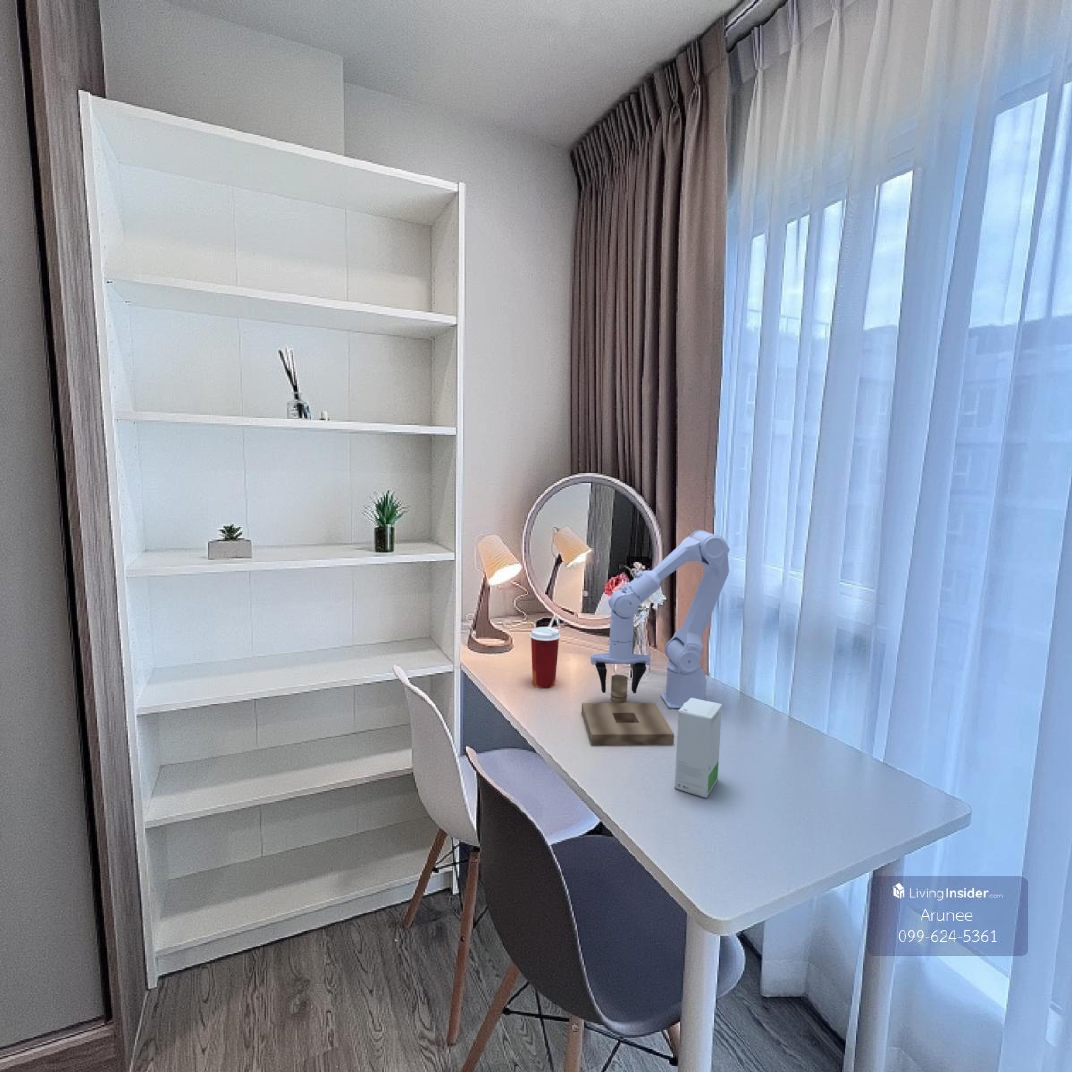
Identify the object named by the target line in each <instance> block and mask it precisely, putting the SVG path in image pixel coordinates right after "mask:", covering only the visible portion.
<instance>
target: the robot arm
mask: <svg viewBox="0 0 1072 1072" xmlns="http://www.w3.org/2000/svg"><path fill="white" fill-rule="evenodd" d="M729 552H730V547H729V545H728V543H727V542H726V540H725V539H724V537H722V536H721V535H719V534H718V535H717V534H713V533H710V532H708V531H706V530H704V529H698V530H694V531H693V532H691V534H690V535H689V536H686V537H685V538H684V539H683V540H681V543H679V544H678V546H677V547H676V548H675V549H673V550H672V551H671V552H670V553H669V554H668V555H667V556H666V557H665V558H664V559H662V560H661V561H660V562H659V563H658V564H657V565H655V567H654V568H653V569H652V570H648V569H647V570H643V571H638V572H637V573H636V574H635V578H634V579H632V580H631V581H630V582H629V583H628V584H626V585H625V584H624V585H622V586H621V589H620V590H619V589H617V590H616V591H614V592H613V593H611V595H610V598H609V599H608V601H607V602H608V603H607V604H608V606H609V608H610V609H611V613H610V623H609V625H610V626H609V644H608V645H609V648H608V652H606V653H599V654H591V655H590V664H591V666H592V665H593V666H595V668H596V671H597V673H598V678H599V680H600V685H601V686H600V687H601V689H600V690H601V692H602V693H603V694H606V693H607V685H606V684H607V683H606V682H607V672H608V669H607V664H608V665H632V667H631V668H632V669H631V670H632V675H631V676H632V677H631V678H632V679H631V691H632V693H633V694H636V693H637V689H638V686H639V684H640V681H641V679H642V678H643V675H644V674H645V673H646V671H647V667H646V666H650V665H651V664H650V663H651V657H650V656H649V655H648V654H638V653H633V644H634V625H635V622H634V617H635V615H636V614H637V612H638V610H639V606H640V605H641V604H643V603H644V602H645V601H646V600H648V599H649V598H650V597H651V596H653V595H654V594H655V593H657V591H658V590H660V588H661V583H662V581H663V580H665V579H666V578H667V577H669V576H670V575H671V574H672V573H674V572H675V571H677V570H678V569H679V568H681V566H683V565H684V564H686V563H687V562H700V564H701V566H702V568H703V570H704V573H703V575H702V578H701V580H700V583H699V586H698V587H697V590H696V592H695V594H694V597H693V599H692V601H691V604H690V607H689V608H688V612H687V614H686V616H685V618H684V620H683V623H682V625H681V628H679V629H677V630H676V631H675V632H674V634H673V636H672V638H671V639H669V641H667V642H666V644H665V648H664V653H665V656H666V657H667V659H668V662H667V665H666V666H667V667H666V684H665V685H666V686H665V693H661V694H660V697H661V698H662V700H663V702H664V704H666V706H667V708H669V709H680V708H681V707H682V706H683V704H684V703H685V702H687V701H688V700H689V699H690V698H695V699H700V700H704V701H706V694H707V693H706V692H707V677H706V672H705V671H704V669H703V668H700V666H701V664H702V653H703V649H704V645H703V635H704V633H705V631H706V628H707V626H708V624H709V621H710V618H711V616H712V613H713V611H714V609H715V607H716V604H717V601H718V600H719V597H720V594H721V593H722V590H723V587H724V586H725V583H726V580H727V578H728V576H729V572H730V566H729V564H730V563H729V555H728V554H729Z"/></svg>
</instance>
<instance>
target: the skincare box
mask: <svg viewBox="0 0 1072 1072" xmlns="http://www.w3.org/2000/svg"><path fill="white" fill-rule="evenodd" d="M722 707H723V704H722V703H719V702H713V701H709V700H705V701H704V700H700V699H695V698H690V699H689V700H688V701H687V702H685V703H684V704H683V706H682V707H681V708H678V712H677V733H676V734H677V736H676V753H675V754H676V755H675V759H676V760H675V776H674V777H675V778H674V789H677V790H679V791H683V792H684V793H685V792H686V793H688V794H692V795H694V796H697V797H702V798H706V799H707V798H708V797H709V794H710V793H711V792H712V790H713V788H714V786H715V785H716V783H717V781H718V777H719V762H720V761H719V760H720V745H721V744H720V742H721V740H720V739H721V726H722V723H721V722H722Z"/></svg>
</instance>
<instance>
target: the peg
mask: <svg viewBox="0 0 1072 1072" xmlns="http://www.w3.org/2000/svg"><path fill="white" fill-rule="evenodd" d="M610 681H611V682H610V683H611V685H610V702H611V703H628V702H627V699H628V698H627V697H628V677H627V676H626V675H624V674H614V675H611V679H610Z"/></svg>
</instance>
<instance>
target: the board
mask: <svg viewBox="0 0 1072 1072" xmlns="http://www.w3.org/2000/svg"><path fill="white" fill-rule="evenodd" d="M581 715H582V716H581V717H582V719H583V722H584V725H585V730H586V732H587V736H588V739H589V742H590V746H592V747H593V746H674V741H675V734H674V731H673V730H672V728H671V727H670V724H668V722H667V720H666V718H665V717H664V715H663V713H662V711H661V710H660V708H659V707H658V705H657V703H656V702H626V703H612V702H581Z"/></svg>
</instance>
